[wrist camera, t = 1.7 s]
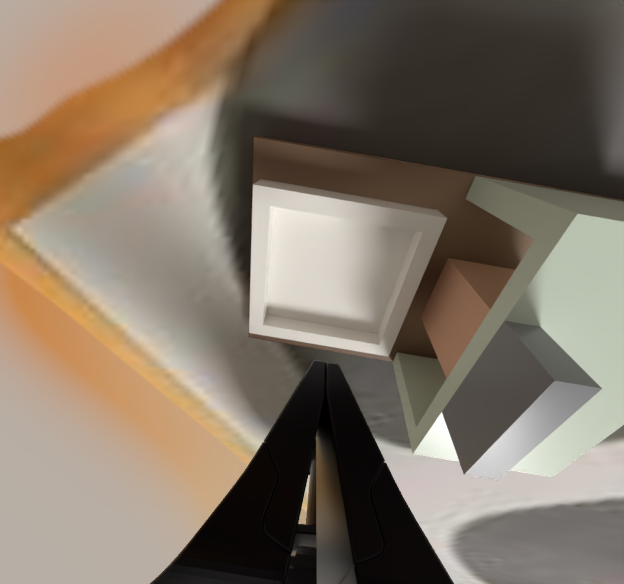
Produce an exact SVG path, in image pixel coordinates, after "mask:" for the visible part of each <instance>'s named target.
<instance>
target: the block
mask: <svg viewBox="0 0 624 584" xmlns="http://www.w3.org/2000/svg"><path fill="white" fill-rule="evenodd" d="M514 271H515V269H509V268H503V267H497V266H492V265H486V264H480V263H474V262H468V261H463V260H457V259H451V258H448V259H447V261H446V264H445V266H444V268H443V270H442V272H441V274H440V277H439V279H438V281H437V283H436V285H435V287H434V289H433V292H432V294H431V296H430V298H429V300H428V302H427V304H426V307H425V309H424V311H423V313H422V315H421V320H422V322H423V324H424V327H425V329H426V331H427V334H428V336H429V338H430V341H431V343H432V346H433V348H434V350H435V353H436V355H437V357H438V360H439V362H440V364H441V367H442V369H443V372H444V374H445V376H446V379H447V377H448V376H449V374H450V373H451V371H452V370H453V368H454V366H455V365H456V363H457V362H458V360H459V358H460V357H461V355H462V354H463V352H464V351H465V349H466V347H467V346H468V344H469V343H470V341H471V339H472V338H473V336H474V335H475V333H476V332H477V330H478V328H479V327H480V325H481V324H482V322H483V320H484V319H485V317H486V316H487V314H488V313H489V311H490V309H491V308H492V306H493V305H494V303H495V301H496V300H497V298H498V297H499V295H500V293H501V292H502V290H503V289H504V287H505V286H506V284H507V282H508V281H509V279H510V278H511V276H512V274H513V273H514Z"/></svg>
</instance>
